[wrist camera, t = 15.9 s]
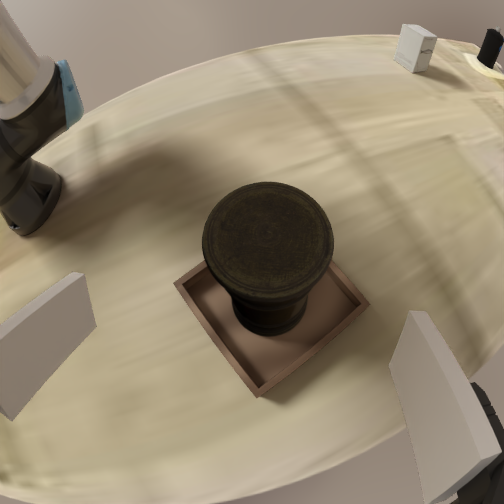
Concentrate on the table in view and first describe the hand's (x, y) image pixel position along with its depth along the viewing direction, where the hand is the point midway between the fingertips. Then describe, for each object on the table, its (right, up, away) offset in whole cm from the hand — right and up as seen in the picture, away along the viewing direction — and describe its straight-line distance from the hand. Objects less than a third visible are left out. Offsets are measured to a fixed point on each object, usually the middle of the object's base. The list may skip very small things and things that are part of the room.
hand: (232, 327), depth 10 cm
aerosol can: (+94, +78, +52) cm, 132 cm away
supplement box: (+44, +53, +46) cm, 83 cm away
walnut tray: (+3, -3, +25) cm, 25 cm away
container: (+3, -3, +24) cm, 24 cm away
